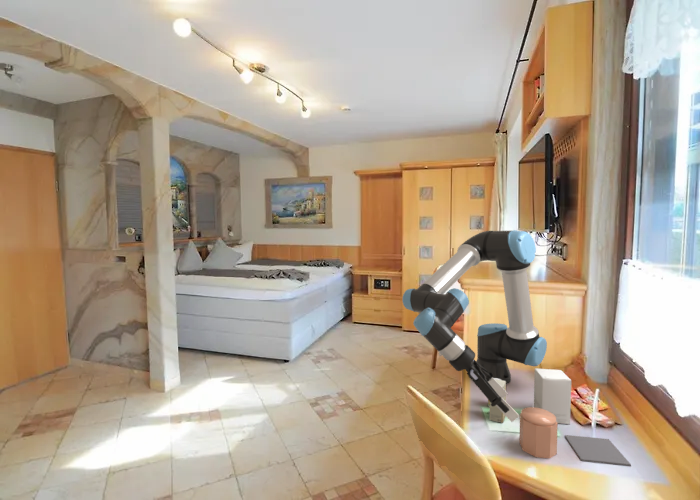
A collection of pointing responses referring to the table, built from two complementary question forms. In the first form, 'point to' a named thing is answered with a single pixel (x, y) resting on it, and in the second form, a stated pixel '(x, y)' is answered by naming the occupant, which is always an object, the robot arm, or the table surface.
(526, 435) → the peach round canister
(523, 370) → the table surface
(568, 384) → the supplement box
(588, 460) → the rubber mat
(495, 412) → the skincare box
